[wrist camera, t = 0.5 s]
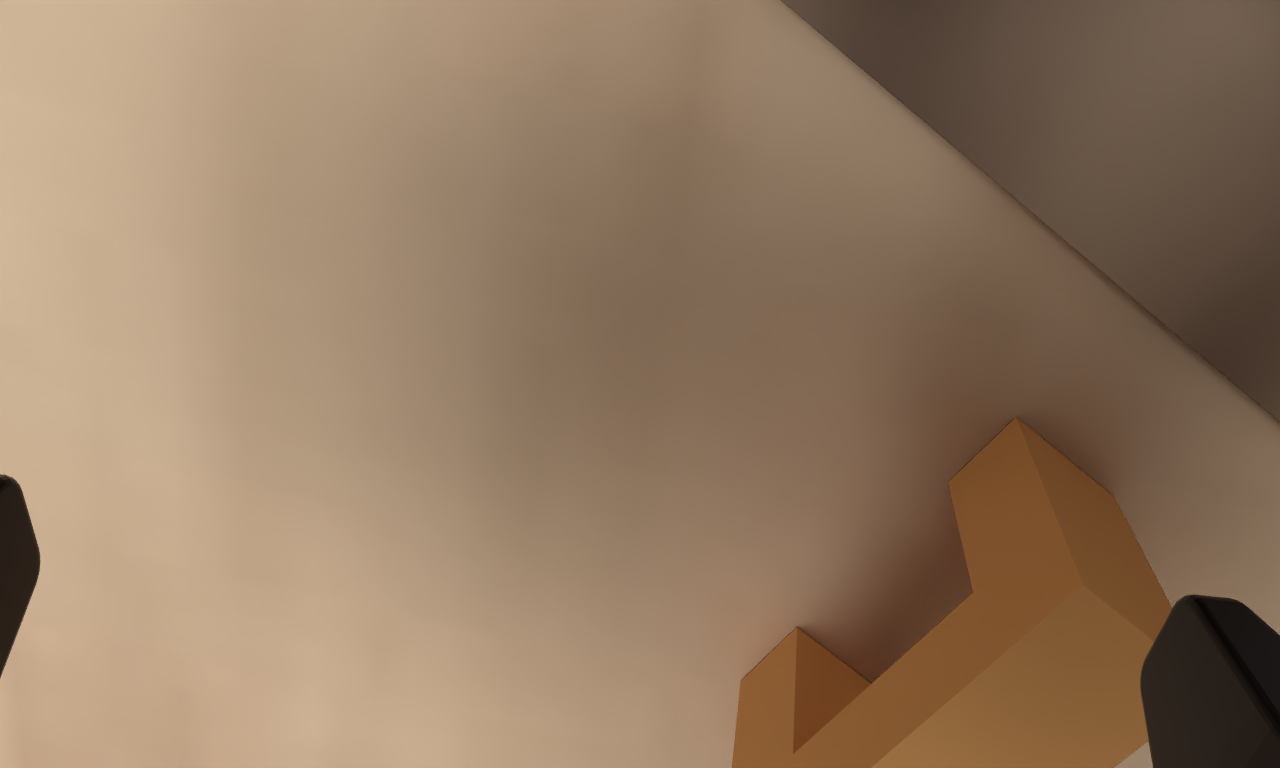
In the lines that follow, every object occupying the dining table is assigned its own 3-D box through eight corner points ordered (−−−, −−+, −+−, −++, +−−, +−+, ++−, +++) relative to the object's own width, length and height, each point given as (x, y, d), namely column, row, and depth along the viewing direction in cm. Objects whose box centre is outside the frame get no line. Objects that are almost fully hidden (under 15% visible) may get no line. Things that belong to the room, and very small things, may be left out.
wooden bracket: (1115, 497, 22) (1213, 689, 17) (831, 749, 25) (835, 982, 19) (1016, 417, 22) (1083, 584, 16) (740, 680, 25) (718, 899, 19)
